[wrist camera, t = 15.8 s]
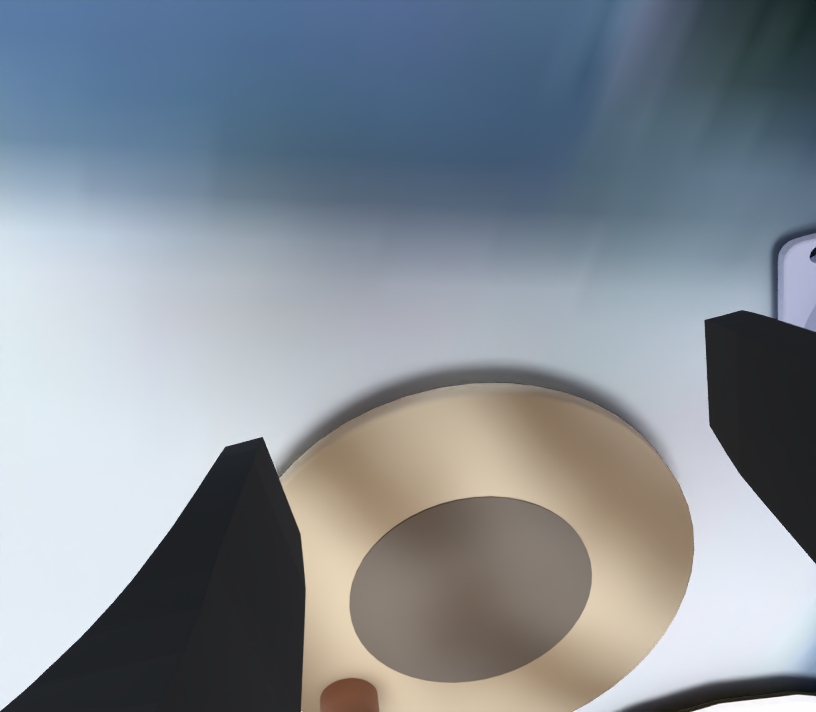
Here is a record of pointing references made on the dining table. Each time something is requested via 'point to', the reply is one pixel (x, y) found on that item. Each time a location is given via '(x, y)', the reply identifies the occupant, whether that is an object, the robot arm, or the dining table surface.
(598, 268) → the dining table surface
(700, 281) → the dining table surface
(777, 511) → the robot arm
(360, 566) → the turntable
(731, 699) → the plate
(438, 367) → the dining table surface
